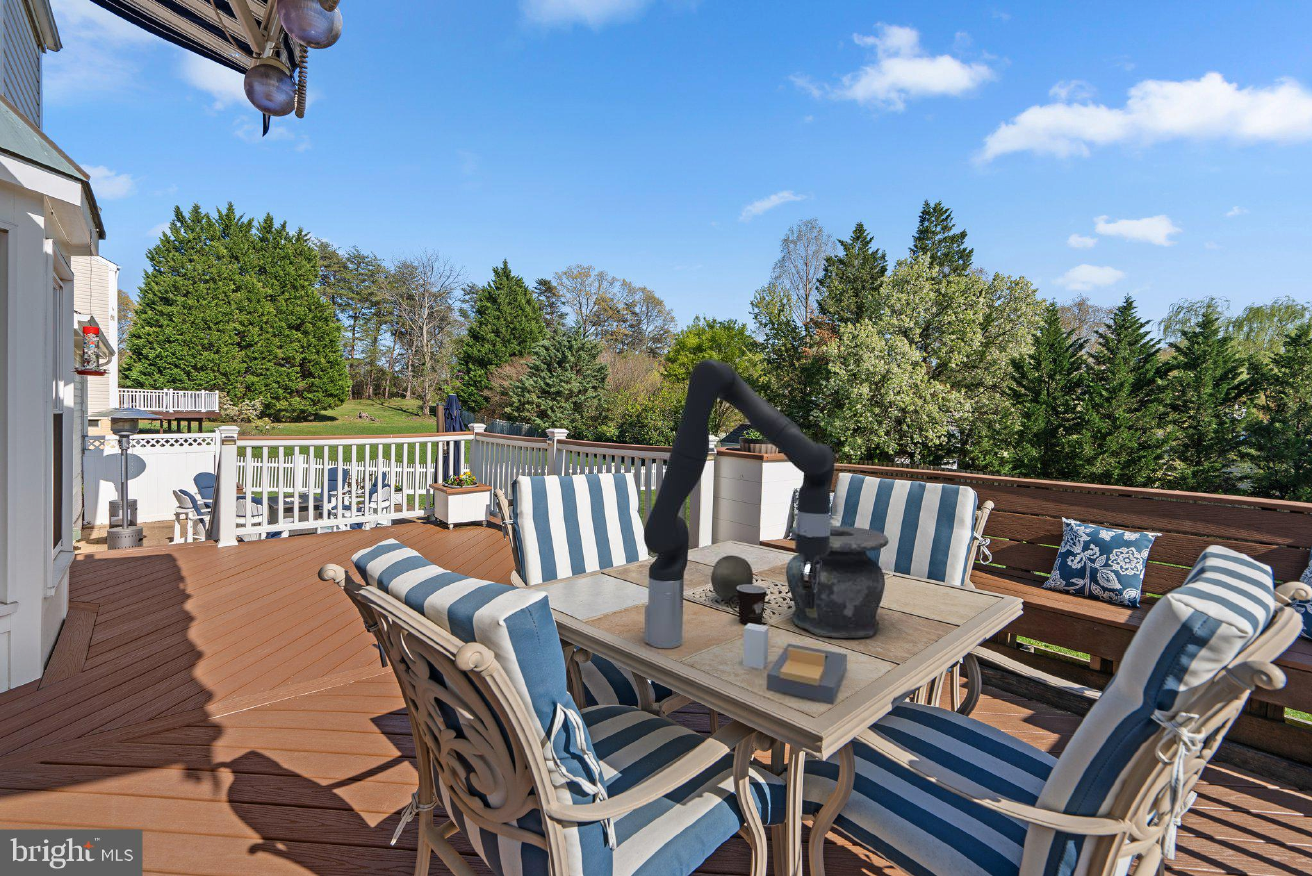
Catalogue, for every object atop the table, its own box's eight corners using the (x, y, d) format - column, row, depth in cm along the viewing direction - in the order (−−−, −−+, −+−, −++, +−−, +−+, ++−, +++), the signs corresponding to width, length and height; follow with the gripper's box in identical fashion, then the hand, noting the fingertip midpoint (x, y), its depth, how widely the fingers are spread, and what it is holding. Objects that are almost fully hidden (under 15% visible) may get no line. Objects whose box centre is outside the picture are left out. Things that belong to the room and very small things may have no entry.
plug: (742, 665, 139) (743, 628, 139) (747, 659, 142) (748, 623, 142) (763, 669, 137) (764, 631, 136) (767, 663, 140) (768, 626, 140)
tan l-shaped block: (779, 677, 124) (780, 659, 124) (788, 664, 131) (788, 647, 131) (818, 685, 120) (818, 667, 120) (824, 671, 128) (825, 653, 127)
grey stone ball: (701, 598, 192) (702, 553, 192) (737, 594, 198) (738, 550, 198) (724, 610, 180) (725, 562, 179) (762, 606, 186) (763, 559, 185)
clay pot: (899, 613, 176) (898, 518, 172) (875, 660, 151) (874, 550, 147) (805, 597, 192) (802, 509, 188) (770, 636, 167) (766, 537, 163)
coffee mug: (762, 617, 174) (763, 584, 174) (768, 627, 165) (769, 593, 165) (723, 617, 174) (724, 584, 173) (728, 627, 165) (728, 592, 165)
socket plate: (766, 689, 126) (767, 673, 126) (787, 657, 144) (788, 643, 144) (833, 704, 120) (833, 687, 120) (846, 668, 138) (847, 654, 138)
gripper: (802, 525, 138) (799, 597, 139) (789, 534, 127) (786, 613, 127) (834, 529, 135) (831, 602, 136) (824, 538, 123) (821, 619, 124)
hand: (809, 607), depth 131 cm, fingers closed
